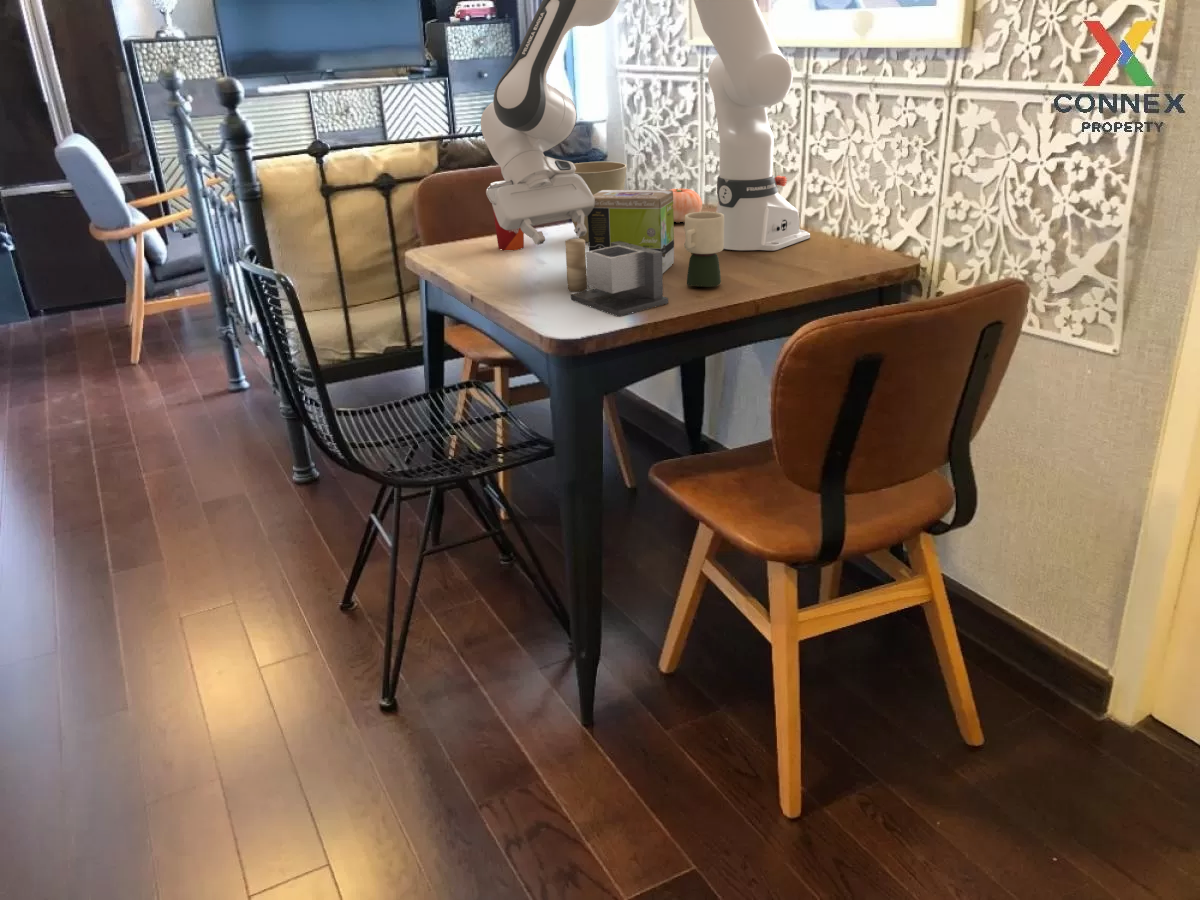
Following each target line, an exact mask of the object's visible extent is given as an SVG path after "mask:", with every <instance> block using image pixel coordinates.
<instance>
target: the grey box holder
mask: <svg viewBox="0 0 1200 900" xmlns="http://www.w3.org/2000/svg"><path fill="white" fill-rule="evenodd" d="M585 253H586V276H587V287H590V288H592V289H587V290H585V291H580V292H573V293H570V300H571V301H573V302H576V303H579V304H582V305H584V306H587V305H588V306H587V307H590V306H591V308H593V309H595V308H596V310H598V309H599V311H601V310H603V311H602V312H604V311H605V313H607V312H608V313H607V314H610V313H611V314H610V315H612V314H614V315H613V316H615V315H617V316H616V317H618V316H619V317H622V316H621V315H623V316H625V315H624V314H627V315H629V314H628V313H631V314H633V313H632V312H634V313H637V312H636V311H638V312H641V311H640V310H642V311H644V310H643V309H646V310H648V309H647V308H650V309H652V307H654V308H656V307H655V306H657V307H660V306H659V305H661V306H664V305H663V304H665V305H668V304H669V297H666V296H663V293H664V289H663V287H664V286H663V285H664V283H663V282H664V279H663V274H664V273H663V271H662V252H661V251H657V250H653V249H649V248H645V247H641V246H637V245H634V244H630V243H626V242H622V241H616V242H612V243H611V247H606V248H601V249H597V250H592V251H589V250H587V251H585ZM667 303H668V304H667Z"/></svg>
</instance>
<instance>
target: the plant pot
mask: <svg viewBox="0 0 1200 900" xmlns="http://www.w3.org/2000/svg"><path fill="white" fill-rule="evenodd" d="M573 164H574V165H575V168H576V170H575V172H574V173H575V174H577V175H579V176H580V177H581V178H582V179H583V180H584V181H585V183H586V184H587V186H588V188H589V189H590V191H591V193H592V195H594V194H596V193H598V192H600V191H602V190H625V184H626V176H627V175H626V174H627V164H625V163H623V162H618V161H589V162H579V163H578V162H576V163H573ZM571 221H572V224H573V226H574V229H575V228H576V226H577V222H574V220H573V219H571ZM584 225H585V227H586V229H587V233H586V234H585V236H580V237H578V239H584V240H585V243H588V244H589V240H588V220H587V216H584Z"/></svg>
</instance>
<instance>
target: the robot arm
mask: <svg viewBox="0 0 1200 900" xmlns="http://www.w3.org/2000/svg"><path fill="white" fill-rule="evenodd" d="M620 1H621V0H542V1H541V3H540V4H539V6H538V8H537V10H536V12H535V14H534V16H533V18H532V21H531V23H530V24H529V27H528V29H527V32H526V33H525V35H524V37H523V39H522V41H521V44H520V45H519V48H518V50H517V52H516V54H515V57H514V59H513V60H512V62H511V63H510V65H509V67H508V68H507V69H506V70H505V72H504V73H503V75H502V76H501V78H500V79H499V80H498V82H497V84H496V86H495V89H494V93H493V99H492V102H491V103H490V104H488V105H487V107H485V109H483V110H484V111H482V113H481V117H480V129H481V134H482V136H483V139H484V141H485V143H486V146H487V149H488V150H489V153H490V154H491V156H492V158H493V160H494V161H495V162H496V163H497V164H498V166H499V167H500V171H501V172H500V173H501V175H502V177H503V179H504V180H503V181H506V182H501V183H493V182H492V183H493V184H491V183H490V184H489V186H487V188H486V190H485V194H486V197H487V199H488V200H489V202H490V203H491V206H493V207H492V211H493V210H494V213H495V215H496V218H497V221H498V223H499V225H500V226H501V227H502V228H503V229H505V230H511V229H517V228H521V230H522V232H523V233H524V235H526V236H527V237H529V238H530V239H532V242H533V243H534V245H535V246H538V245H542V244H543V245H544V242H545V240H546V237H545V235H544V234H543V231H542V230H540V231H538V230H536V228H535V227H534V226H538V225H544V224H549V223H555V222H560V221H565V220H566V221H567V220H570V219H571V220H572V219H573V220H574V222H577V226H576V228H575V227H574V229H573V231H574V233H575V234H576V237H578V238H579V237H580V236H585V234H586V233H587V229H586V227H585V225H584V216H588V215H589V214H590V213H591V211H592V209H593V208H594V205H595V199H594V197H593V195H592V193H591V191H590V189H589V188H588V186H587V184H586V183H585V181H584V180H583V179H582V178H581V177H580V176H579V175H577V174H575V173H574V172H575V170H576V168H575V165H574V164H575V163H574V162H572V161H569V160H564V159H563V160H562V159H558V158H553V157H550V156H547V155H546V156H545V154H544V153H546V152H548V151H550V150H551V149H553V148H556V147H557V146H558V145H559V144H561V143H562V142H563V143H564V142H565V140H567V139H568V138H569V137H571V134H572V132H573V131H574V129H575V127H576V123H577V119H578V118H577V117H578V116H577V108H576V106H575V104H574V102H573V100H572V99H571V98H570V97H568V96H567V95H566V94H564V93H563V92H561V91H560V90H558V89H557V88H556V87H553V86H551V85H550V84H549V83H547V73H548V70H549V69H550V66H551V64H552V62H553V60H554V57H555V56H556V54H557V52H558V49H559V47H560V45H561V43H562V41H563V38H564V37H565V36H566V35H567V33H568V32H569V31H570V30H571V29H573V28H576V27H592V26H593V27H594V26H597V25H600V24H603V23H604V22H606V21H608V20H609V19H610V18H612V15H613V14H614V12H615V11H616V9H617V7H618V5H619V3H620ZM693 2H694V4H695V8H696V10H697V14H698V17H699V20H700V23H701V27H702V29H703V32H704V33H705V34H706V36H707V37H708V38H709V39H710V42H711V43H712V45H713V47H714V48H715V50H716V52H717V56H715V58H713V60H712V61H711V63H710V65H709V68H708V72H707V74H708V75H707V79H708V84H709V87H710V88H711V92H712V95H713V101H714V102H713V103H714V108H715V115H716V122H717V127H718V135H719V136H718V137H719V165H718V166H719V168H718V169H719V174H718V176H717V179H716V195H717V199H718V200H717V204H716V209H715V212H718V213H722V214H724V247H723V250H729V251H731V250H732V251H778V250H781V249H784V248H785V247H788V246H792V245H794V244H798V243H800V242H802V241H806V240H808V239H811V233H810V232H809V231H806V230H804V229H800V215H799V214H800V213H799V211H798V209H797V208H796V207H795V206H794V205H793V204H791V203H790V202H789V201H788V200H787V199H786V198H785V197H783V196H782V195H781V194H780V193H779V189H778V186H781V187H785V186H786V185H787V183H788V178H787V177H786V176H784V175H783V176H781V175H777V176H774V174H773V173H774V172H773V171H774V170H773V169H774V168H773V166H774V146H775V145H774V144H775V143H774V141H775V137H774V133H773V130H772V129H771V127H770V122H769V118H768V112H767V111H768V110H767V108H769V107H771V106H774V105H777V104H779V103H780V102H781V101H783V100H784V99H786V97H787V96H788V94H789V92H790V91H791V88H792V85H793V79H794V74H793V69H792V66H791V64H790V62H789V61H788V59H787V58H785V56H784V55H783V53H782V52H781V50H780V49H779V47H778V45H777V42H776V41H775V39H774V37H773V35H772V33H771V30H770V28H769V27H768V25H767V23H766V21H765V19H764V17H763V14H762V12H761V10H760V7H759V6H758V2H757V0H693Z"/></svg>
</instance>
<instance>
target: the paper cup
mask: <svg viewBox="0 0 1200 900" xmlns="http://www.w3.org/2000/svg"><path fill="white" fill-rule="evenodd" d="M501 182H506V181H505V180H499V181H498V180H497V181H494V182H491V183H490V184H493V183H501ZM491 206H492V205H491ZM492 208H493V206H492ZM492 213H493V219H494V221H493V222H494V227H495V235H496V241H497V247H498V250H500V249H502V250H501V251H504V250H513V251H519V250H522V249H524V247H525V246H524V243H525V240H524V239H525V237H524V236H525V233H523V232H522V230H521V228H517V229H511V230H505V229H503V228H502V227H501V226H500V225H499V223H498V221H497V218H496V215H495V213H494V210H493V209H492ZM521 248H522V249H521ZM518 249H519V250H518Z"/></svg>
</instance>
